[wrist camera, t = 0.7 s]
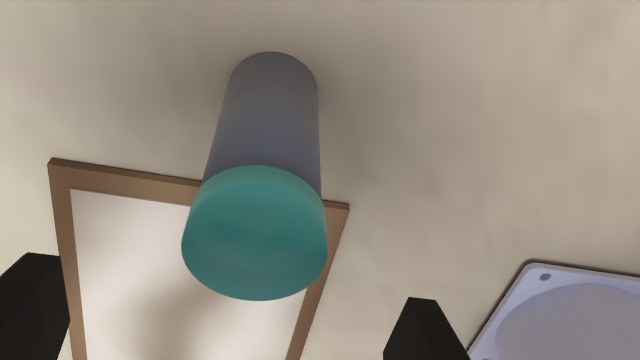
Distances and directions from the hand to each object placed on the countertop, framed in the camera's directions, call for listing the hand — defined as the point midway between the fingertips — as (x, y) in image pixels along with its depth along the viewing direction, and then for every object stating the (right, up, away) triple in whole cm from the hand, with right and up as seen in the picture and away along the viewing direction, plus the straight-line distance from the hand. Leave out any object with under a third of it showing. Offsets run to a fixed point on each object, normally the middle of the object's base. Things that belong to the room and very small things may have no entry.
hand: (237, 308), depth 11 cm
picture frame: (-5, -4, +14) cm, 16 cm away
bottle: (0, +6, +7) cm, 9 cm away
